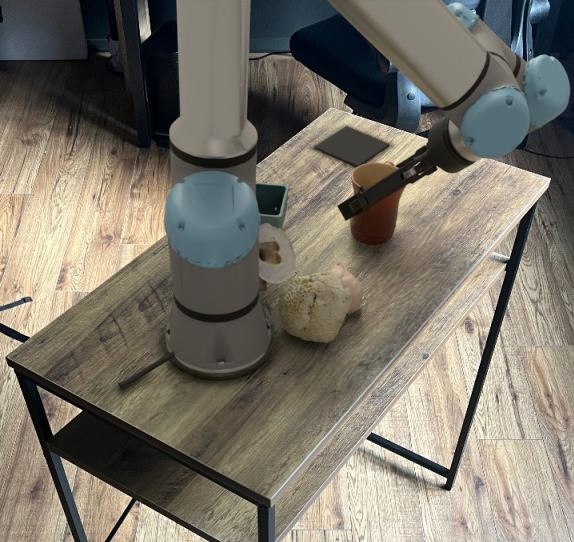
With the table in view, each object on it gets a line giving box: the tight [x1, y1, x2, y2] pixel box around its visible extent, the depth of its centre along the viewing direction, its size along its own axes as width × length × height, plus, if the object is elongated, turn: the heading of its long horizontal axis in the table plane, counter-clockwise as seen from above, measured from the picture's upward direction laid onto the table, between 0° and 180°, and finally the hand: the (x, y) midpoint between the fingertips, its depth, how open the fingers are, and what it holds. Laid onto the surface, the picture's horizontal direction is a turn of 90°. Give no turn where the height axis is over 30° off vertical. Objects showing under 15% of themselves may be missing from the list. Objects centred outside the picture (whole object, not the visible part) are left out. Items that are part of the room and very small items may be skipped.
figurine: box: [259, 208, 297, 293], centre depth 120 cm, size 11×10×15 cm
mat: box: [313, 125, 390, 168], centre depth 152 cm, size 10×10×1 cm
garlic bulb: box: [327, 261, 364, 315], centre depth 122 cm, size 7×6×8 cm
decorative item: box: [277, 270, 352, 344], centre depth 117 cm, size 12×9×10 cm
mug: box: [349, 161, 407, 247], centre depth 132 cm, size 12×9×10 cm
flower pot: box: [256, 182, 290, 239], centre depth 129 cm, size 9×9×9 cm
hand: (365, 196), depth 132 cm, fingers closed on mug, 12 cm apart
